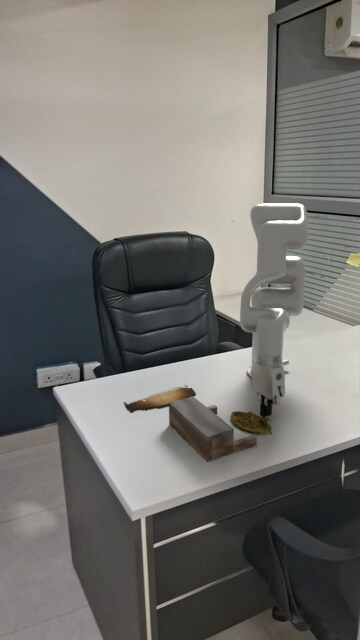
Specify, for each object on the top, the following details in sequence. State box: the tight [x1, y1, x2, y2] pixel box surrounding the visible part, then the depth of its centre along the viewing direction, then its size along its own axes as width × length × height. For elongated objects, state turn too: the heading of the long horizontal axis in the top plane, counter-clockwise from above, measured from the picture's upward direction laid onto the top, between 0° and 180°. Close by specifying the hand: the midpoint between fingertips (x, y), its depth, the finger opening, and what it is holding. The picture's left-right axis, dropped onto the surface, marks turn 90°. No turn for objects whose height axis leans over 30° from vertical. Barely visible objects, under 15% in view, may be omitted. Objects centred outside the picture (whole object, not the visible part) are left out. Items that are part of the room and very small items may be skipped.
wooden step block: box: [168, 395, 258, 463], centre depth 133 cm, size 16×21×7 cm
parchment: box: [124, 384, 197, 413], centre depth 155 cm, size 25×10×1 cm, turn 122°
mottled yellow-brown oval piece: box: [230, 410, 273, 436], centre depth 139 cm, size 9×5×15 cm
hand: (265, 415), depth 142 cm, fingers closed
